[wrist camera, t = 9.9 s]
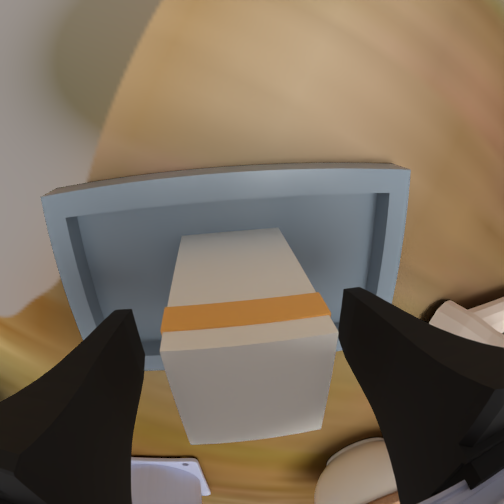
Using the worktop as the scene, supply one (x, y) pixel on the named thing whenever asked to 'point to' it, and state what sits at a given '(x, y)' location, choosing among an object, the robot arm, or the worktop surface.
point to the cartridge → (245, 339)
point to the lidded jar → (358, 476)
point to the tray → (223, 220)
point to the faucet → (473, 321)
